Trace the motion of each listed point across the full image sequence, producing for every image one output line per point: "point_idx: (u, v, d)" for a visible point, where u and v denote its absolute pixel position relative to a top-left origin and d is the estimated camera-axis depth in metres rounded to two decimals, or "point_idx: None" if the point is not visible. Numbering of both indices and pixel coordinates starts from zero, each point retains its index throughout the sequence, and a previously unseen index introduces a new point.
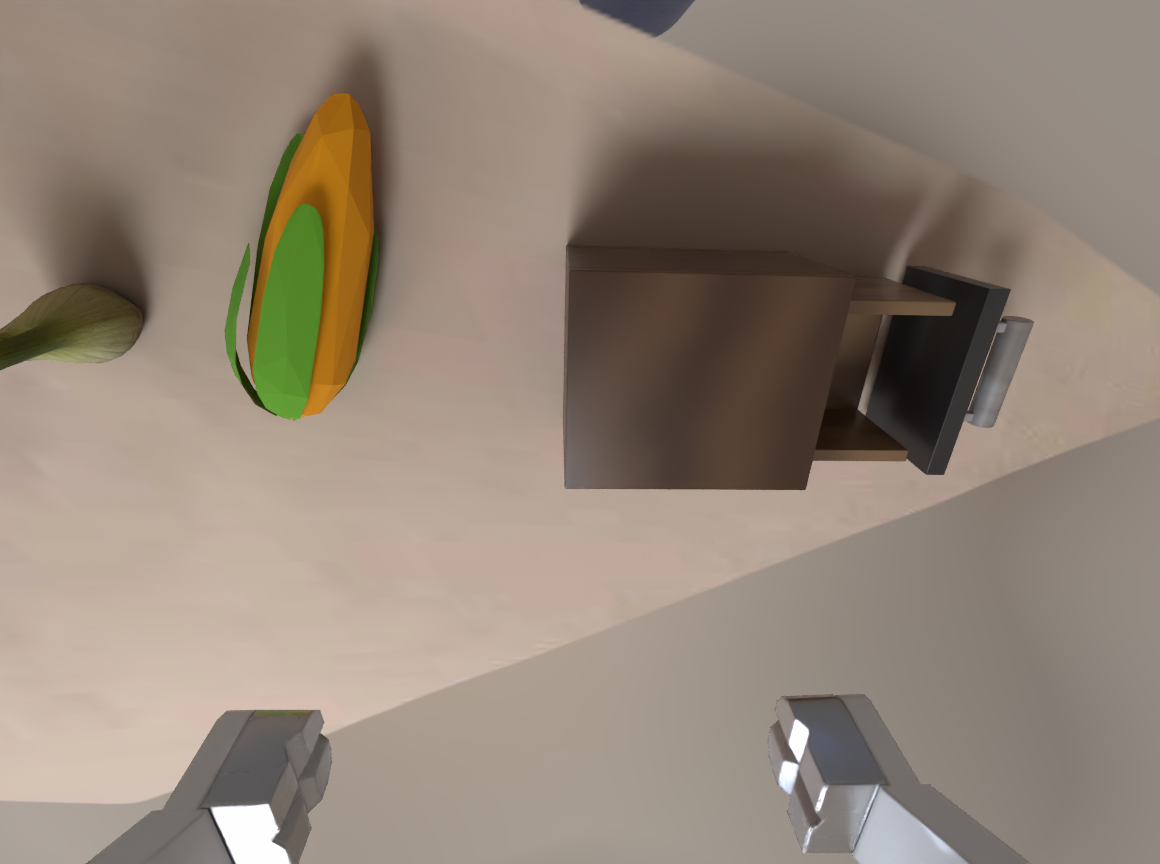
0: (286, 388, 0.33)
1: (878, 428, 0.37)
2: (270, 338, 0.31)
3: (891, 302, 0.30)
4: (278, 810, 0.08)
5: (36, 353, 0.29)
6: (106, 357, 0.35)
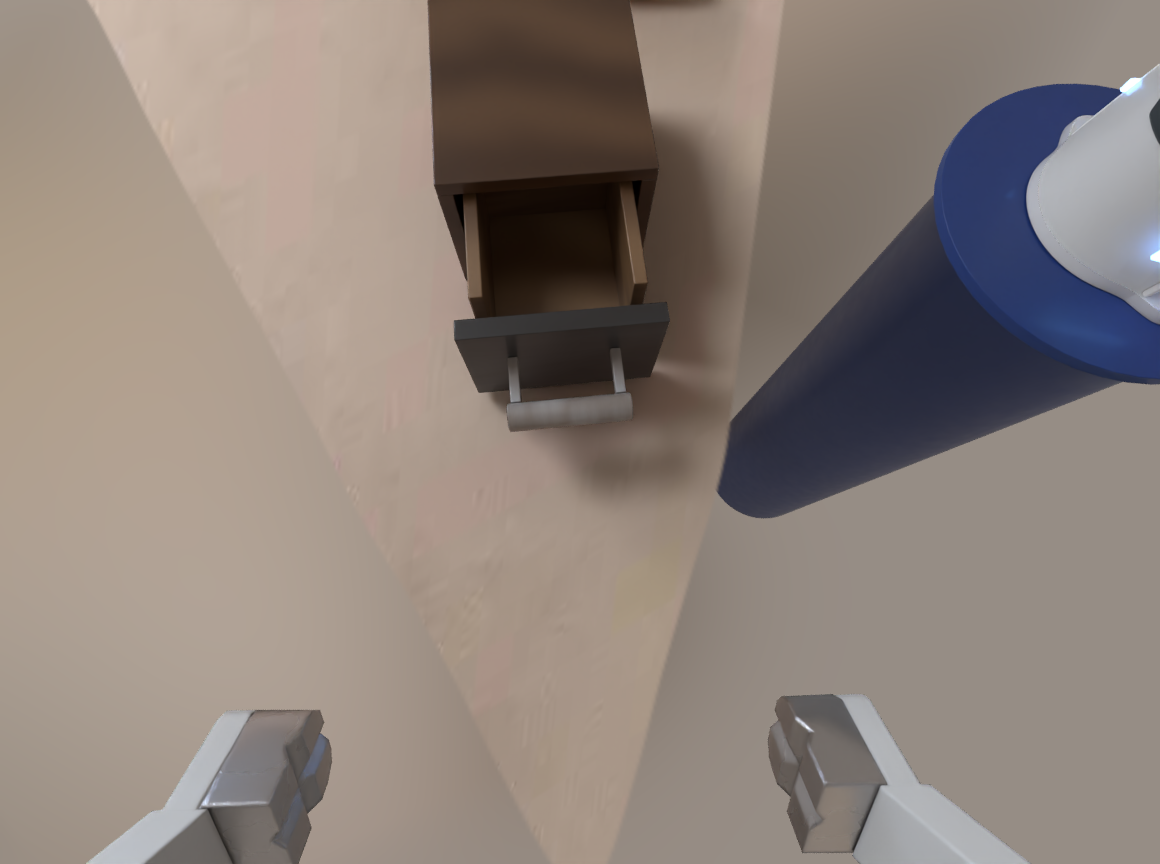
0: None
1: None
2: None
3: (637, 226, 0.32)
4: (277, 811, 0.08)
5: None
6: None
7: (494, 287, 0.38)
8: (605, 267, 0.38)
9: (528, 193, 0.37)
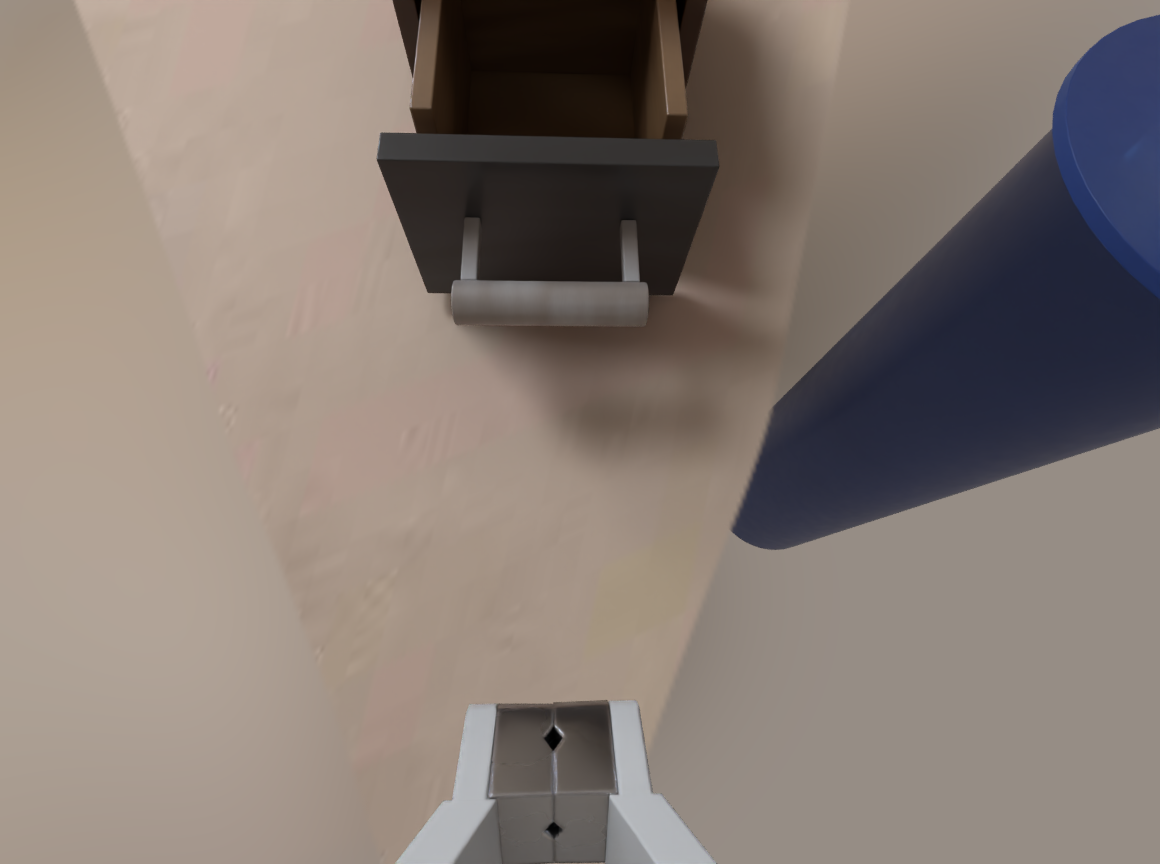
0: None
1: None
2: None
3: (678, 41, 0.21)
4: (553, 801, 0.08)
5: None
6: None
7: None
8: None
9: (526, 31, 0.27)
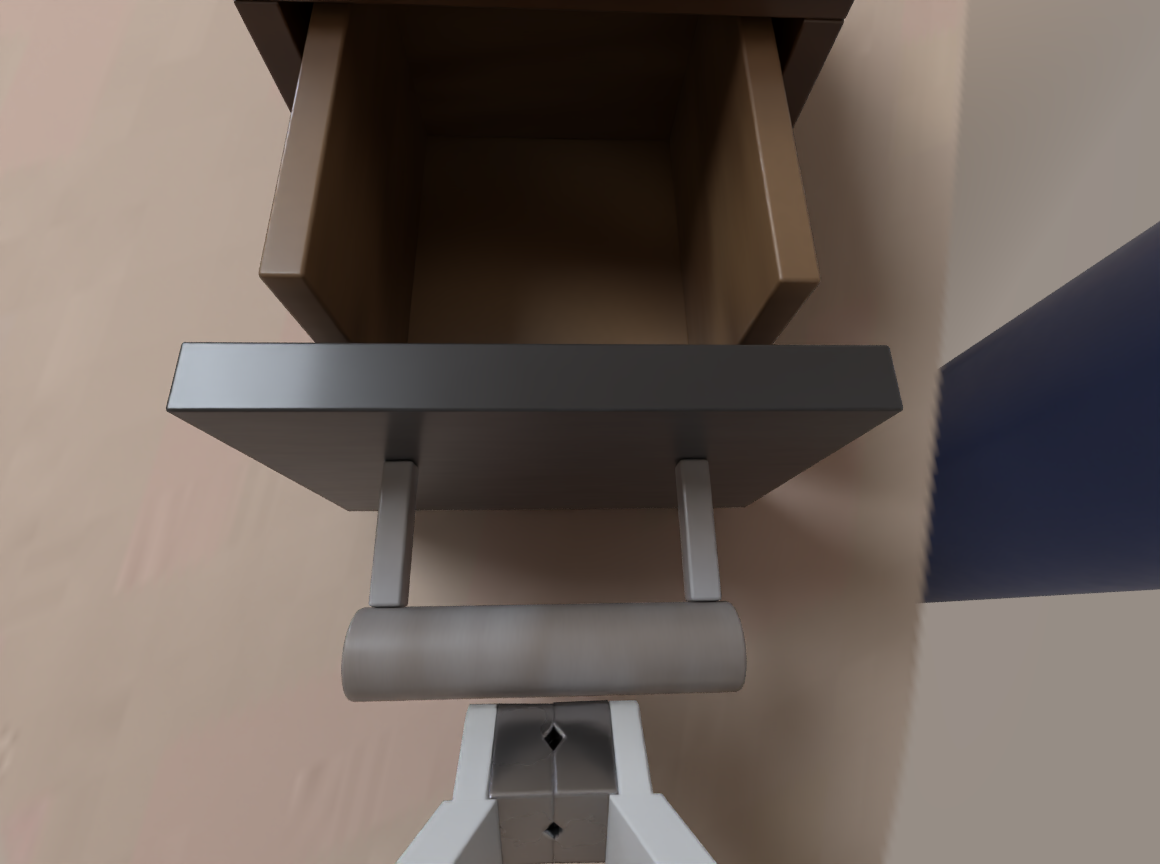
0: None
1: None
2: None
3: (787, 124, 0.11)
4: (553, 801, 0.08)
5: None
6: None
7: (415, 275, 0.17)
8: (660, 257, 0.18)
9: (509, 80, 0.17)
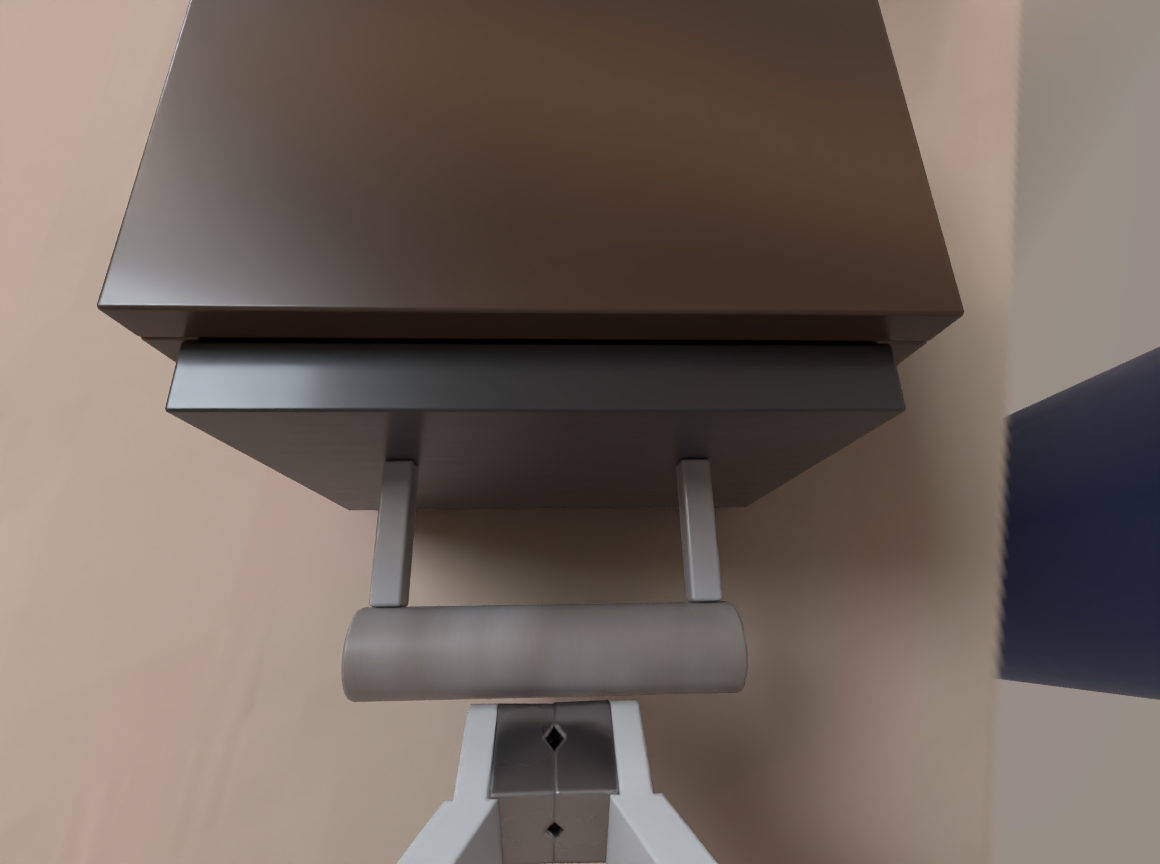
0: None
1: None
2: None
3: None
4: (554, 801, 0.08)
5: None
6: None
7: None
8: None
9: None
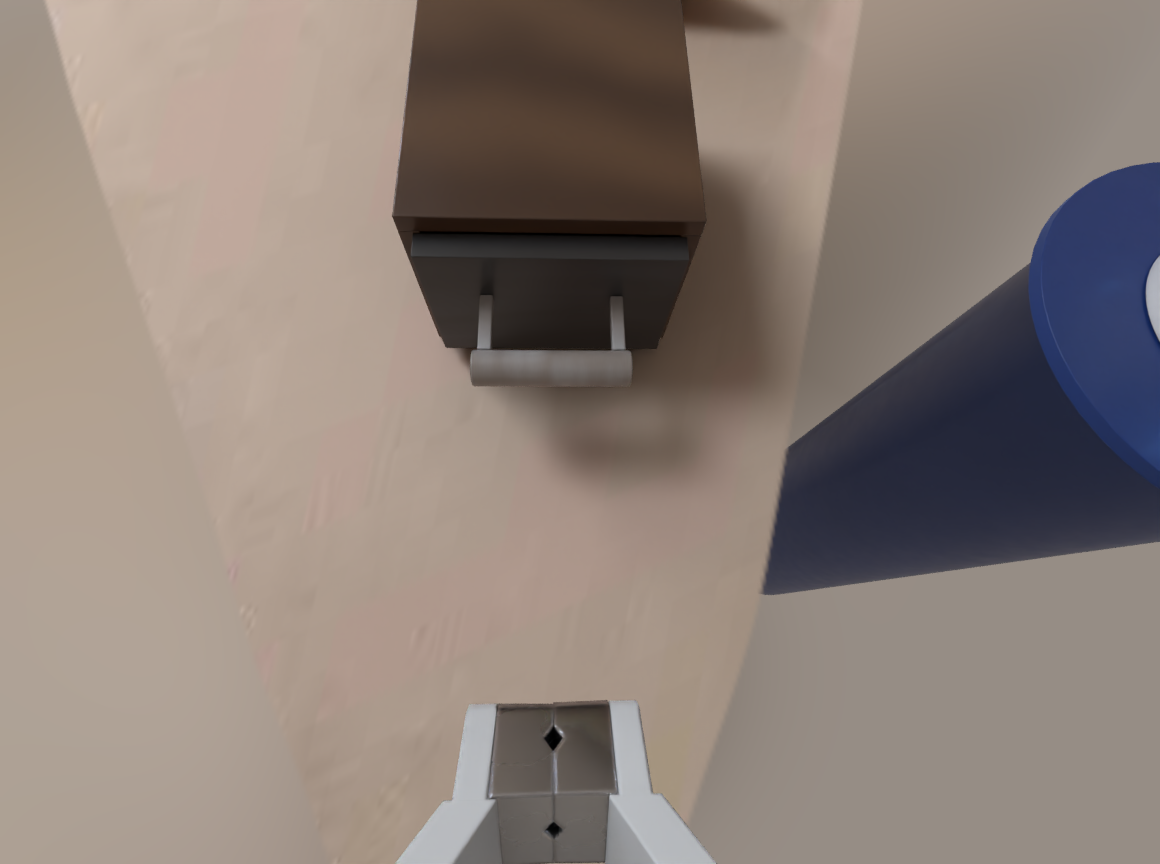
0: None
1: None
2: None
3: None
4: (553, 801, 0.08)
5: None
6: None
7: None
8: None
9: None
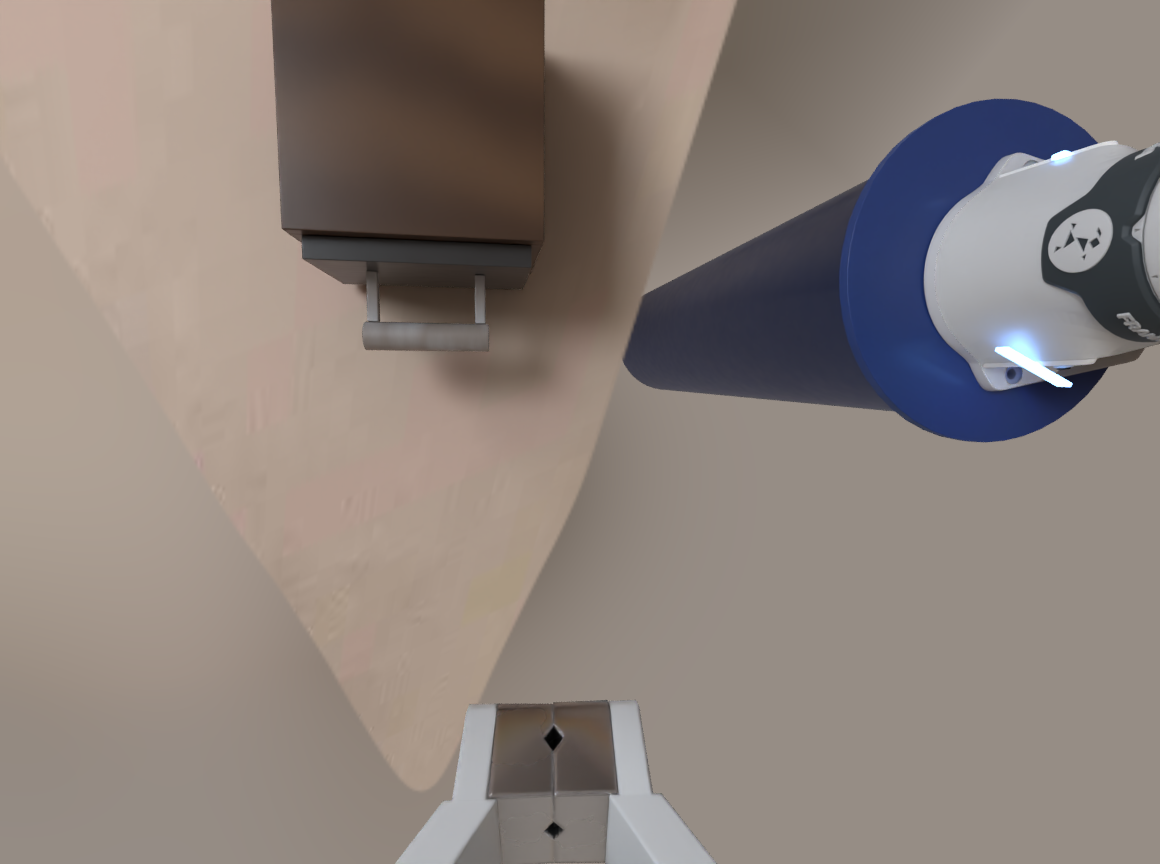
0: None
1: None
2: None
3: None
4: (553, 801, 0.08)
5: None
6: None
7: None
8: None
9: None
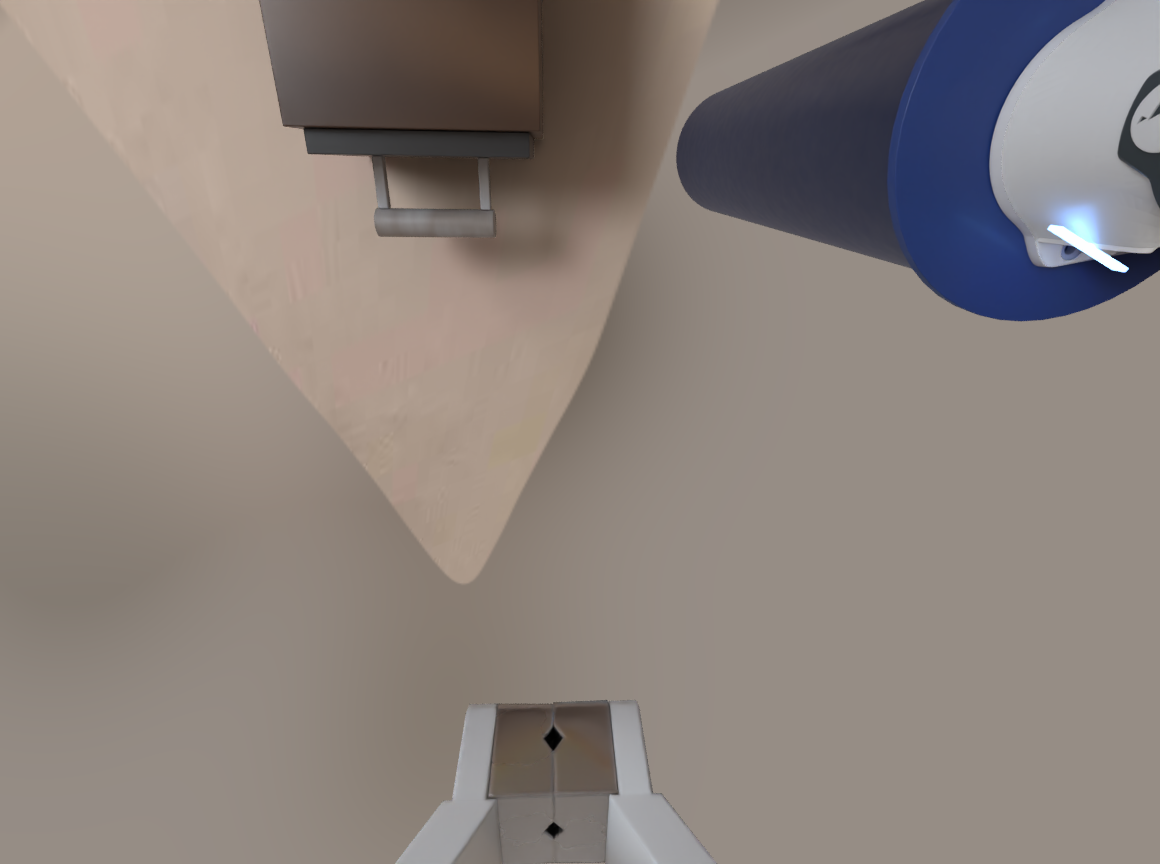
0: None
1: None
2: None
3: None
4: (553, 801, 0.08)
5: None
6: None
7: None
8: None
9: None
